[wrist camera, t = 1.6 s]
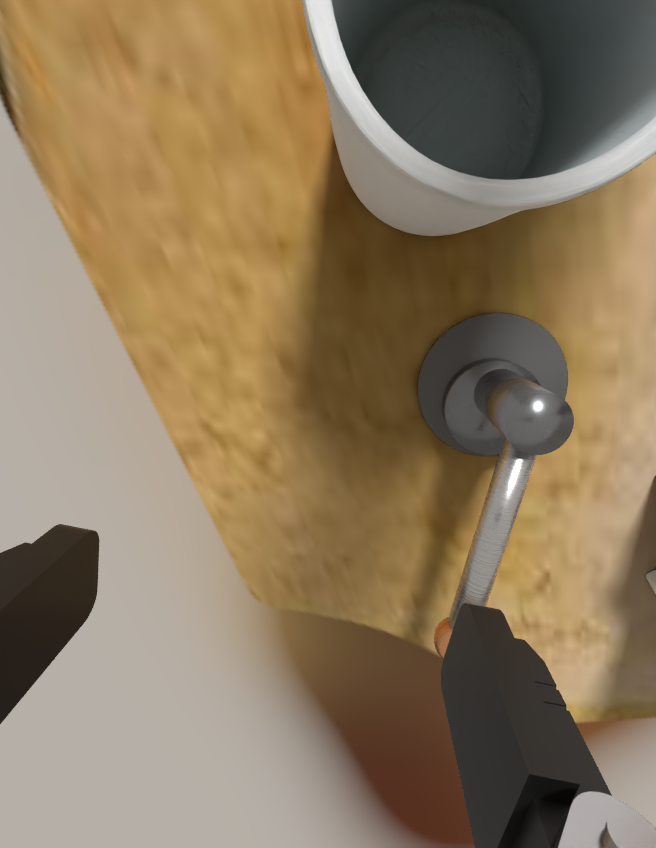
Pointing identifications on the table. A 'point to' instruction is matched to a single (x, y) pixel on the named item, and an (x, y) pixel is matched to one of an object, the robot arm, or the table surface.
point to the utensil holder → (484, 102)
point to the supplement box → (652, 580)
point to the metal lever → (517, 447)
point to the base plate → (482, 341)
